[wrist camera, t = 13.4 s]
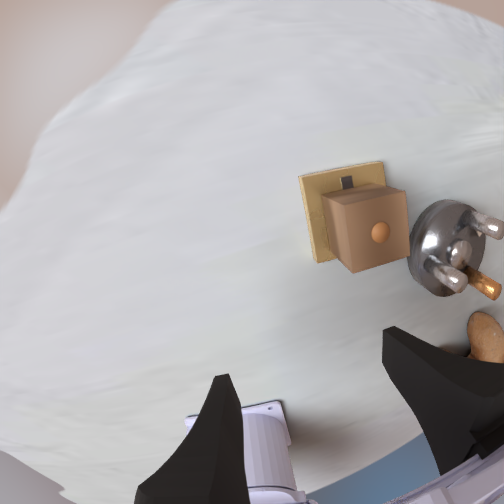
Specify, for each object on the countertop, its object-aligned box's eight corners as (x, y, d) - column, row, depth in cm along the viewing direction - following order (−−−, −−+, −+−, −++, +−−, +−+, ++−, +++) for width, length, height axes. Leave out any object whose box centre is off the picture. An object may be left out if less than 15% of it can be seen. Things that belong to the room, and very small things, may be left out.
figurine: (482, 294, 25) (568, 378, 13) (479, 326, 30) (545, 396, 18) (414, 364, 26) (495, 465, 14) (423, 383, 31) (485, 462, 19)
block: (330, 251, 20) (353, 274, 16) (320, 194, 19) (344, 205, 15) (380, 237, 20) (410, 256, 16) (374, 183, 19) (406, 191, 15)
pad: (313, 258, 22) (318, 264, 21) (298, 176, 20) (302, 177, 19) (385, 239, 22) (392, 243, 21) (375, 161, 20) (383, 162, 19)
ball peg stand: (431, 303, 24) (469, 335, 18) (391, 248, 22) (435, 277, 16) (481, 242, 23) (523, 263, 17) (448, 180, 21) (499, 191, 15)
